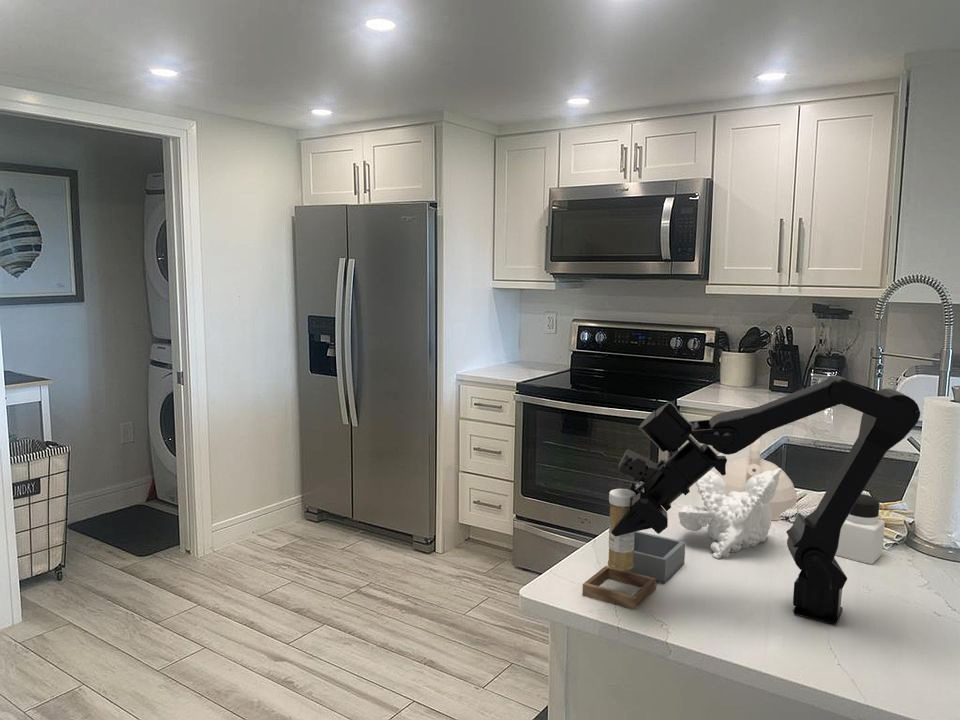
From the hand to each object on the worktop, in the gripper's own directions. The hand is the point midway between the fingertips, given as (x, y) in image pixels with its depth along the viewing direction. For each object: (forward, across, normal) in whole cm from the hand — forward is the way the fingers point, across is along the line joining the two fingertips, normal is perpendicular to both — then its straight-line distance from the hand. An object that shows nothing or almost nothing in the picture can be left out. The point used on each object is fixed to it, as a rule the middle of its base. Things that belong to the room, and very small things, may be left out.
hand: (613, 529), depth 125 cm
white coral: (-7, -28, +24) cm, 38 cm away
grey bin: (+4, -12, +12) cm, 18 cm away
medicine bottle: (-25, -28, +42) cm, 56 cm away
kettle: (-13, -54, +30) cm, 63 cm away
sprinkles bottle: (+4, 0, +6) cm, 7 cm away
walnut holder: (+7, 0, +9) cm, 11 cm away
